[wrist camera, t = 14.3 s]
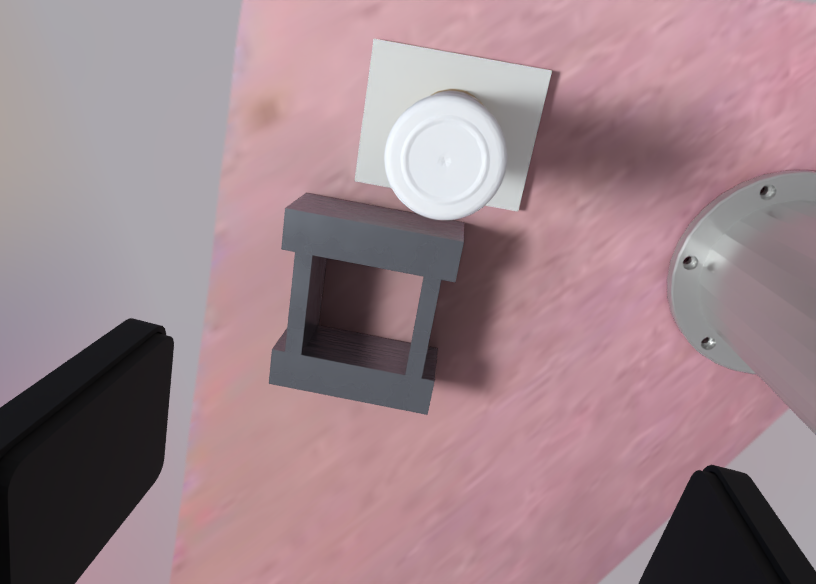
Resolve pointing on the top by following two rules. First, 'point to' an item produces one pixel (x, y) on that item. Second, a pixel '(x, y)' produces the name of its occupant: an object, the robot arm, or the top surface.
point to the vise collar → (349, 351)
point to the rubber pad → (438, 70)
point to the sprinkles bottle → (446, 155)
